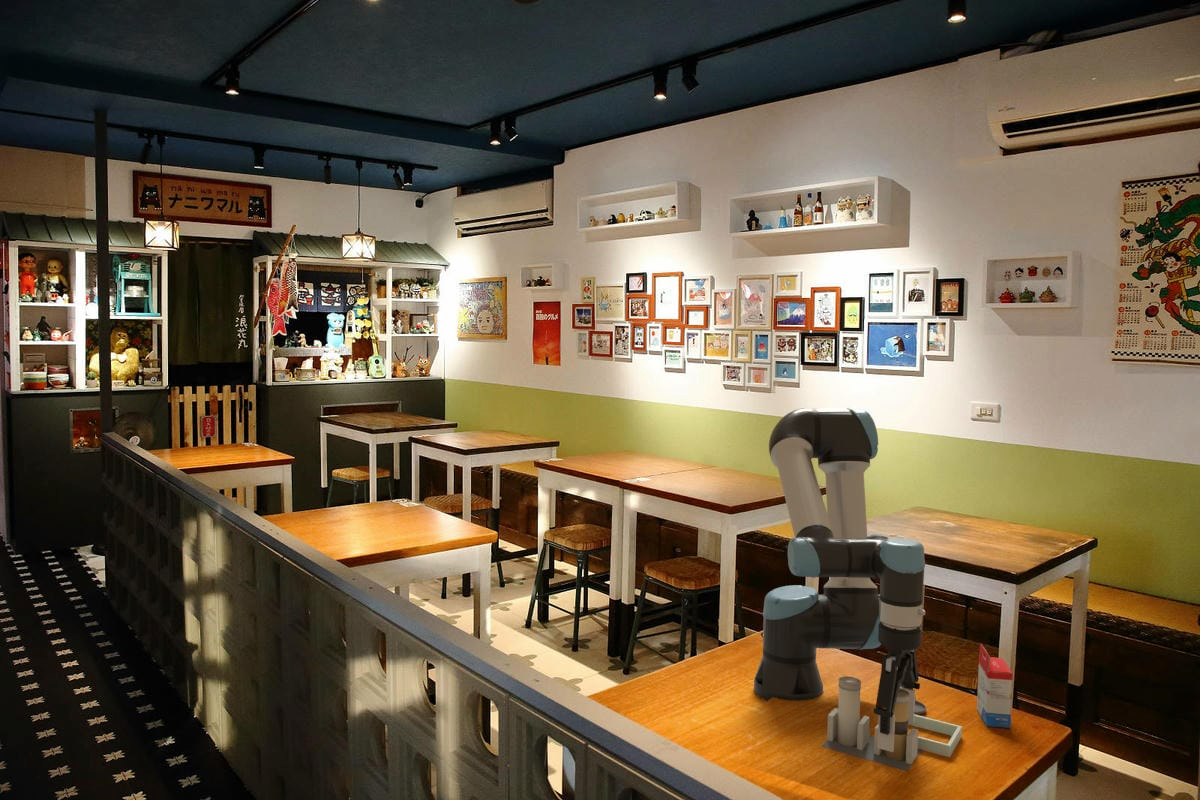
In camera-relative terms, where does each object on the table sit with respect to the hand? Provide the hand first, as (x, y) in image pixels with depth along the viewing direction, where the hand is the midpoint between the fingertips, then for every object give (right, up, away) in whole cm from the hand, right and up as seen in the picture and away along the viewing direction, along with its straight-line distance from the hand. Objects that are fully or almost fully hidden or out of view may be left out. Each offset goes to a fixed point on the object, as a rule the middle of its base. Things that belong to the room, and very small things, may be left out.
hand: (896, 735), depth 157 cm
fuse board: (-4, -5, +3) cm, 7 cm away
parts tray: (+8, -5, +7) cm, 12 cm away
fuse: (-7, -3, +5) cm, 10 cm away
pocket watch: (+10, -4, +23) cm, 25 cm away
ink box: (+27, -4, +19) cm, 34 cm away
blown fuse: (0, -4, 0) cm, 4 cm away
